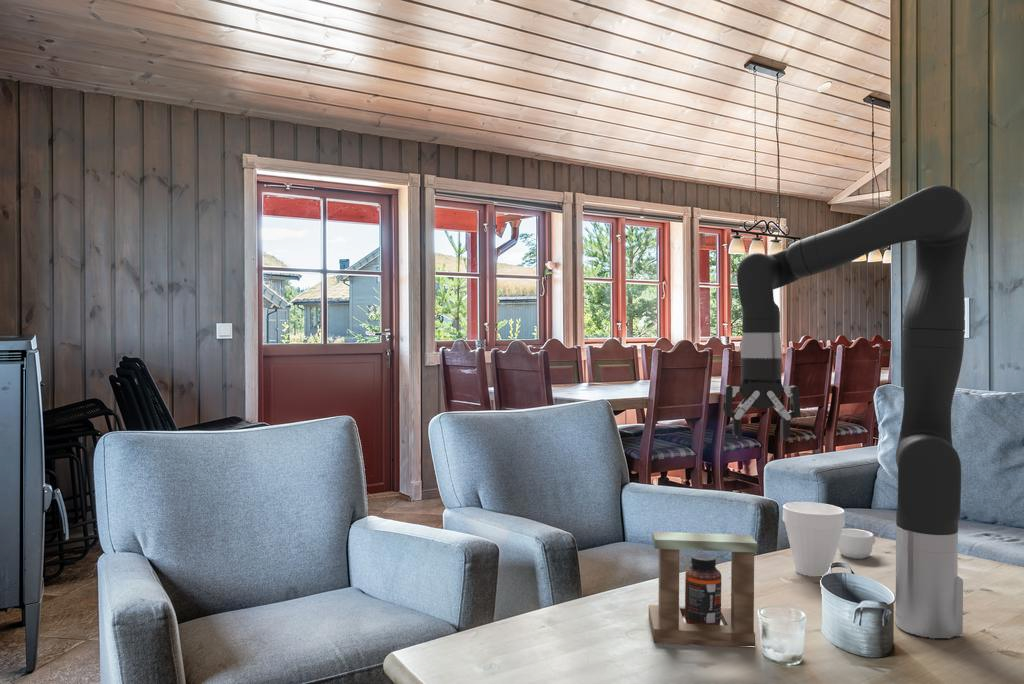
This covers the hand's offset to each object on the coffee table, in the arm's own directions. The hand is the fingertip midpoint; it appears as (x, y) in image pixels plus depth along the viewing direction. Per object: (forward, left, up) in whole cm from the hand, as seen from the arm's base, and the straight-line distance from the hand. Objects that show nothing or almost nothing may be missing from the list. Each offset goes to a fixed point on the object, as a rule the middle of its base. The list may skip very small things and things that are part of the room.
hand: (761, 438), depth 144 cm
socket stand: (+15, +23, -30) cm, 40 cm away
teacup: (-28, -28, -30) cm, 50 cm away
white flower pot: (-14, -14, -30) cm, 36 cm away
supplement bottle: (+14, +21, -29) cm, 38 cm away
